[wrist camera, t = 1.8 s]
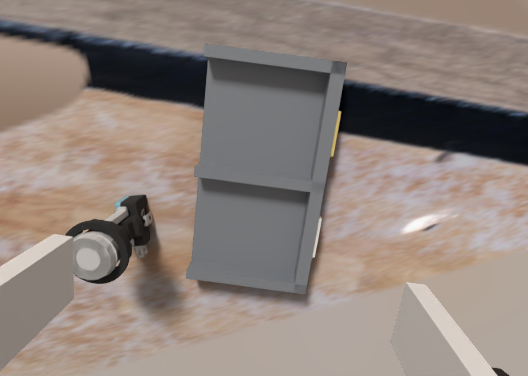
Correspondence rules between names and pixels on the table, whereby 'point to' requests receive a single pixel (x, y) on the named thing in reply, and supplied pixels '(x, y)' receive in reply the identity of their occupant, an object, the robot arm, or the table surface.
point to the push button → (110, 241)
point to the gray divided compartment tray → (263, 166)
